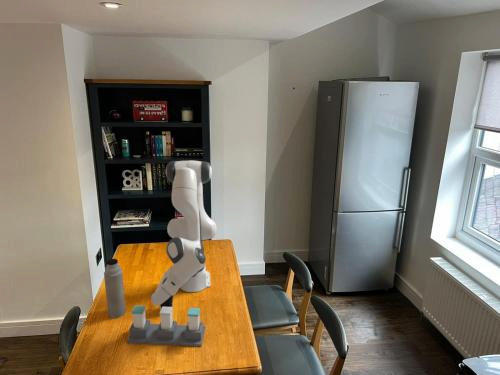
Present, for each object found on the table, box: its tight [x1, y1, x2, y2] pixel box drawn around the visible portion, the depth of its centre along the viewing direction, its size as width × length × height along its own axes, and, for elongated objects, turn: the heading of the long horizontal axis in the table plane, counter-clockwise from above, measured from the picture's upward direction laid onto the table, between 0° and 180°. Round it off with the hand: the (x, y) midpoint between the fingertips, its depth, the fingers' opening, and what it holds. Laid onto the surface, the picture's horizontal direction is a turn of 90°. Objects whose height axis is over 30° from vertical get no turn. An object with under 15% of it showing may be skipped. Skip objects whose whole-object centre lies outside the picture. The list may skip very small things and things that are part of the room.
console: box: [126, 319, 207, 347], centre depth 161 cm, size 12×32×5 cm, turn 88°
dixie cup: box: [159, 295, 174, 310], centre depth 178 cm, size 8×8×11 cm
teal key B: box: [187, 307, 201, 331], centre depth 159 cm, size 5×5×9 cm
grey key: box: [159, 306, 174, 330], centre depth 159 cm, size 5×5×9 cm
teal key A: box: [131, 304, 147, 328], centre depth 160 cm, size 5×5×9 cm
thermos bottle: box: [103, 258, 127, 319], centre depth 172 cm, size 8×8×28 cm
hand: (152, 297), depth 156 cm, fingers closed
